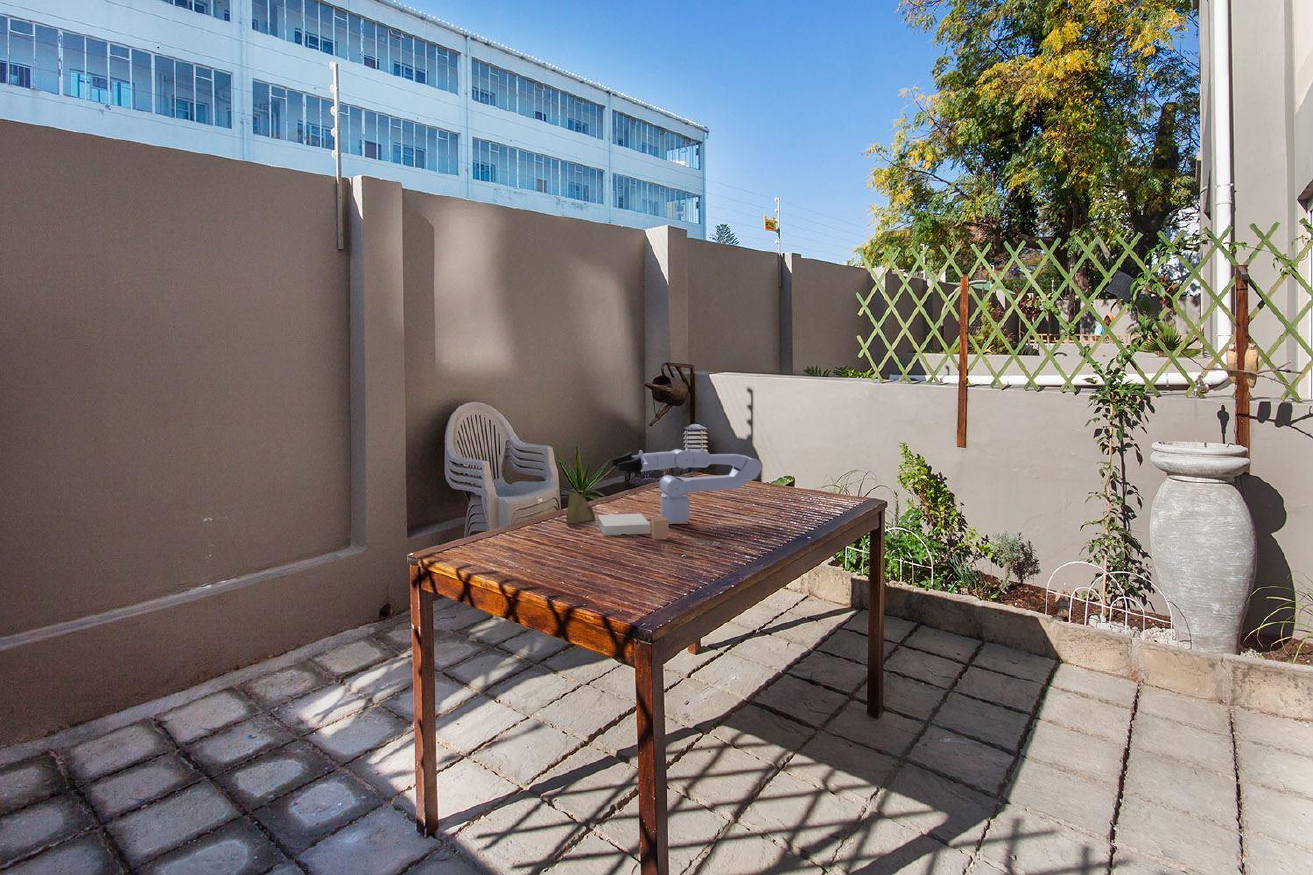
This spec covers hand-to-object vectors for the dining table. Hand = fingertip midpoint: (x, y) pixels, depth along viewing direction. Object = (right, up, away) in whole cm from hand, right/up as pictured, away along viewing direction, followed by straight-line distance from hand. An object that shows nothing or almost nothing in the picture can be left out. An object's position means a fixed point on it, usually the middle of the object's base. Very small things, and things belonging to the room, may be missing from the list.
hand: (615, 464), depth 240 cm
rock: (-12, -20, +9) cm, 25 cm away
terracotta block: (+15, -22, -11) cm, 29 cm away
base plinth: (+3, -21, 0) cm, 21 cm away
